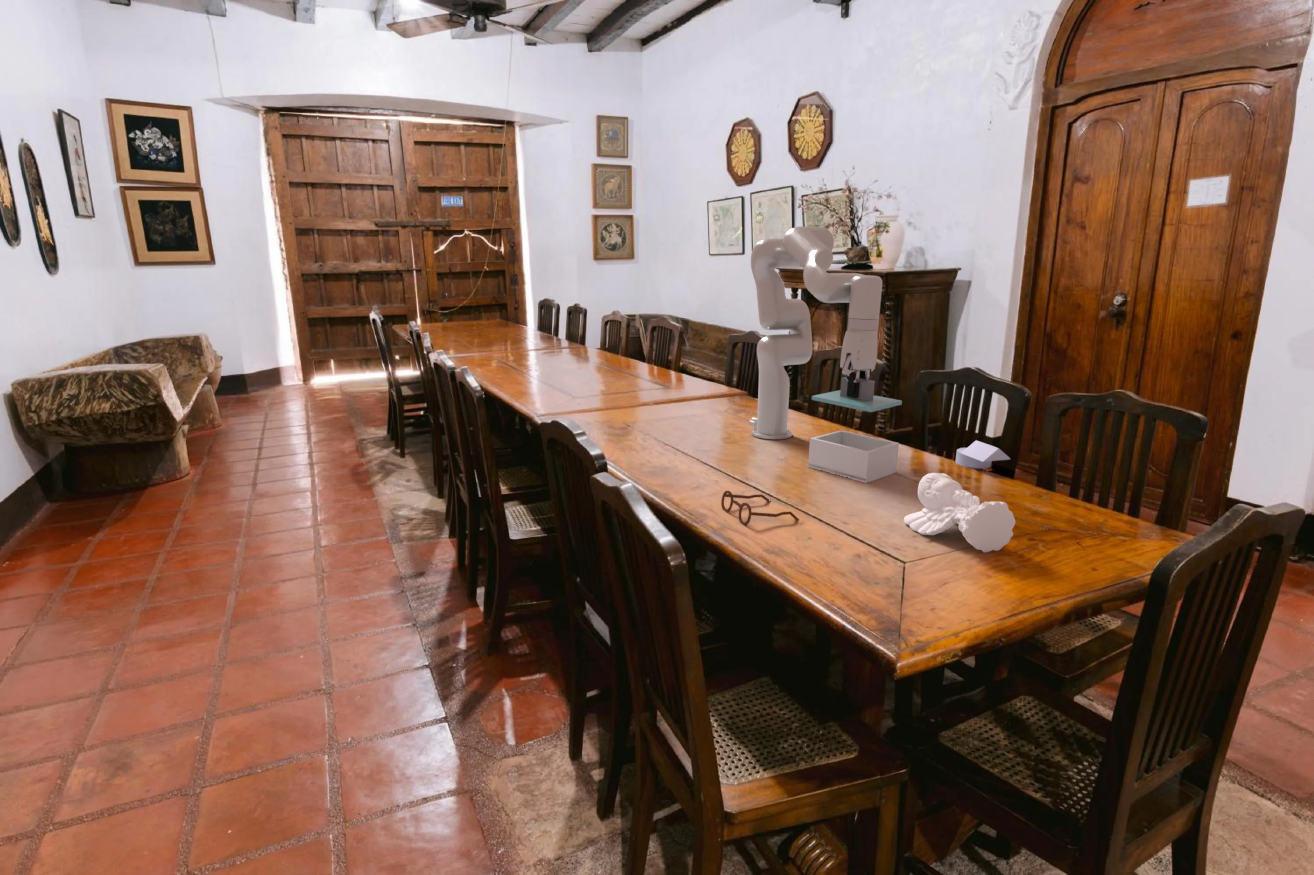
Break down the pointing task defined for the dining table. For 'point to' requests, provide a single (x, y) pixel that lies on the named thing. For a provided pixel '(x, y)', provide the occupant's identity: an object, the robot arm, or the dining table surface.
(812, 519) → the dining table surface
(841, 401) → the lid
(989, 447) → the wedge on round base
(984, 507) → the cherub figurine
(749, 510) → the glasses
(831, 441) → the tub
